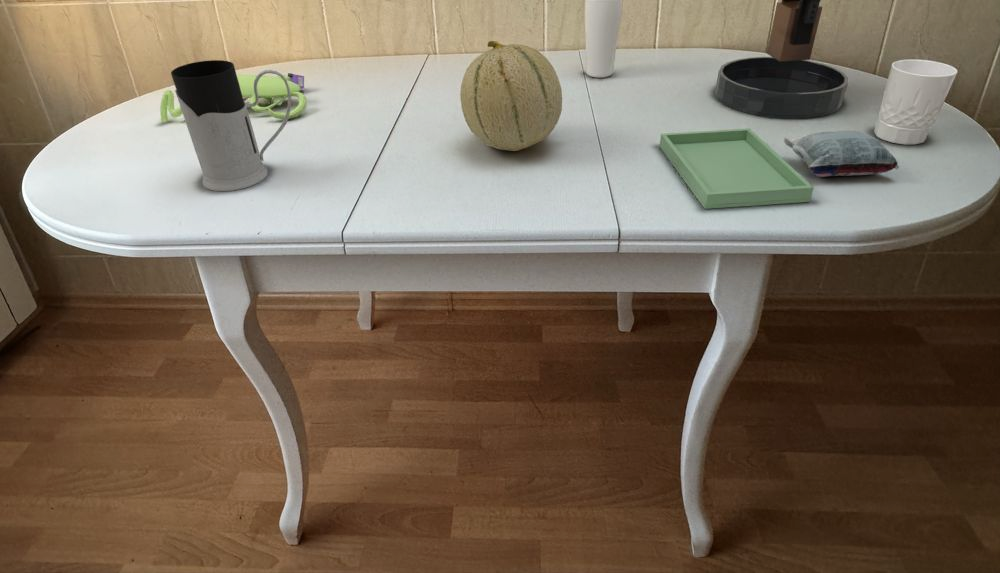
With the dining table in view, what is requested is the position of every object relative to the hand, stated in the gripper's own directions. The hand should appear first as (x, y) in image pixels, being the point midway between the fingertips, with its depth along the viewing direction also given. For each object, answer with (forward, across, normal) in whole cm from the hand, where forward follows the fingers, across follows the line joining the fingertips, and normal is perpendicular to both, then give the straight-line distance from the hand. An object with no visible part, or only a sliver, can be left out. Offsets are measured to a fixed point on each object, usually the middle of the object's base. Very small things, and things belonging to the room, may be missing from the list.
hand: (791, 39), depth 101 cm
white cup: (+10, +19, +10) cm, 23 cm away
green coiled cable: (+9, -12, -94) cm, 96 cm away
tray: (+10, +27, -19) cm, 34 cm away
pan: (+10, 0, 0) cm, 10 cm away
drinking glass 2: (+9, -18, -27) cm, 34 cm away
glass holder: (+9, +18, -84) cm, 87 cm away
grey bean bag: (+10, +28, -5) cm, 30 cm away
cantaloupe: (+10, +14, -47) cm, 50 cm away
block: (+3, 0, 0) cm, 3 cm away
